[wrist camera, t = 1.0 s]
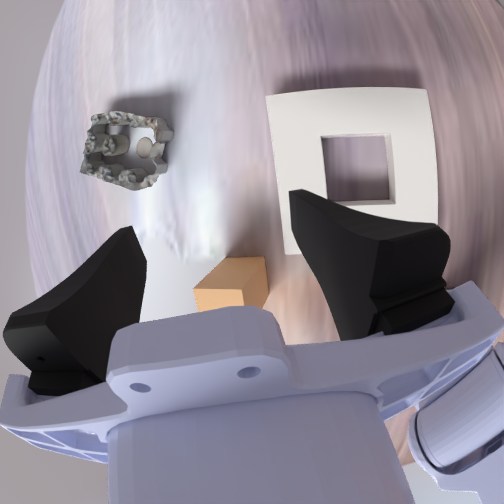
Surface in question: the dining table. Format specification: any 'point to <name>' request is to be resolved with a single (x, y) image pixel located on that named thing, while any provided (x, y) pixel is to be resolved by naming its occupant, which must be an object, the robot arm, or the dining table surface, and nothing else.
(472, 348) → the robot arm
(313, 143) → the socket plate
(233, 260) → the peg
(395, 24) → the dining table surface
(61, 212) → the dining table surface
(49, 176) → the dining table surface
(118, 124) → the egg carton
